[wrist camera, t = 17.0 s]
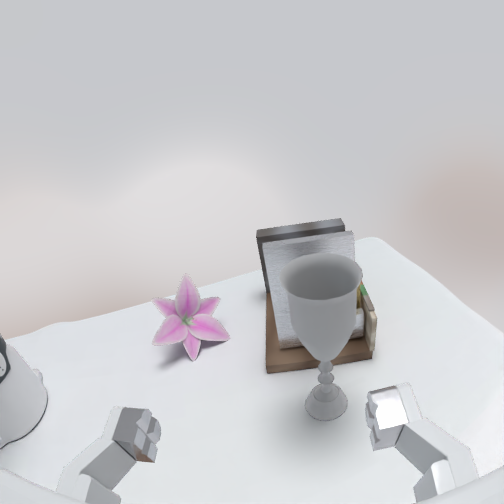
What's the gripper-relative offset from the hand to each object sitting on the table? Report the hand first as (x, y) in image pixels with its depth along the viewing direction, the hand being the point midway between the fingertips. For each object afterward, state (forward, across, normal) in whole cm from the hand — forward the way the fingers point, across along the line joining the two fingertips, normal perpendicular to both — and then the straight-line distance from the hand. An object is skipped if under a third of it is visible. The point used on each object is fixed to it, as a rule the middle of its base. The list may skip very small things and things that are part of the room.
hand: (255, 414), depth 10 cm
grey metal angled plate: (+28, +5, -21) cm, 35 cm away
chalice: (+14, +4, -23) cm, 27 cm away
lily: (+28, -14, -23) cm, 39 cm away
